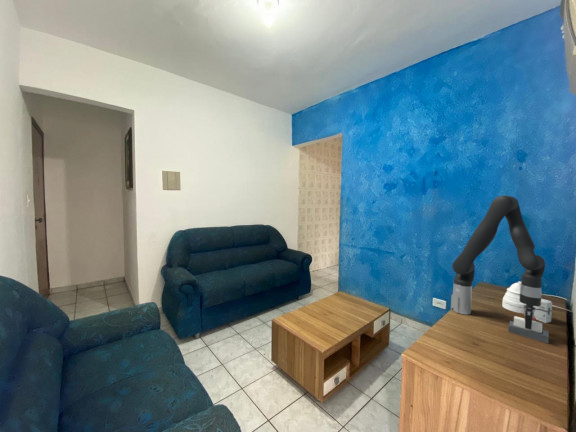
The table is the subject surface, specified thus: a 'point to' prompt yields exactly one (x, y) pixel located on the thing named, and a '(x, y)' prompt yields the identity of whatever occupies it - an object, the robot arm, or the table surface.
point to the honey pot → (513, 299)
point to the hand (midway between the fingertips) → (528, 326)
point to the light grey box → (521, 323)
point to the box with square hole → (529, 333)
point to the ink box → (543, 311)
